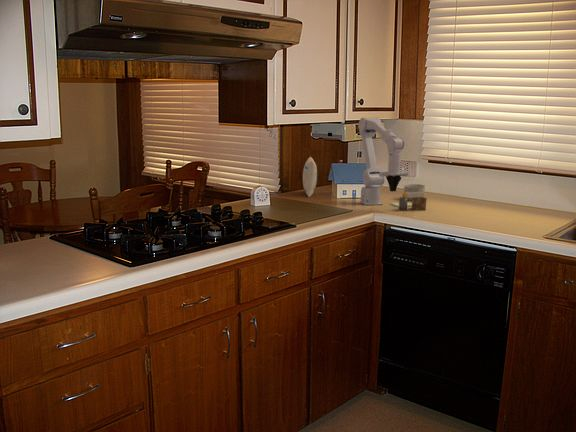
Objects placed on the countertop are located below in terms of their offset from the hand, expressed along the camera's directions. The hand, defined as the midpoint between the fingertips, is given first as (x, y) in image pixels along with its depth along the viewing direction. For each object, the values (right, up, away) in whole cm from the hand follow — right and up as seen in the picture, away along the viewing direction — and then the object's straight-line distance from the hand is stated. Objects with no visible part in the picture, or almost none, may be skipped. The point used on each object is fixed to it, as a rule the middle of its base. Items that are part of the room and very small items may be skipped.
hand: (392, 191), depth 287 cm
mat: (+8, -6, +15) cm, 18 cm away
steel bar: (+11, -3, +3) cm, 11 cm away
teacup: (+17, -3, +32) cm, 36 cm away
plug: (+6, -9, +4) cm, 11 cm away
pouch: (-39, 0, +39) cm, 56 cm away
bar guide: (+14, -9, +6) cm, 17 cm away
